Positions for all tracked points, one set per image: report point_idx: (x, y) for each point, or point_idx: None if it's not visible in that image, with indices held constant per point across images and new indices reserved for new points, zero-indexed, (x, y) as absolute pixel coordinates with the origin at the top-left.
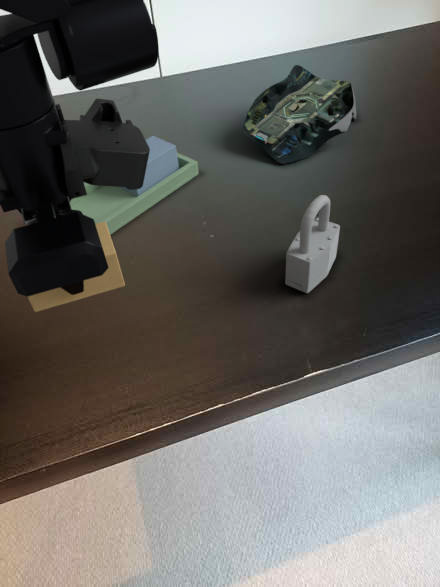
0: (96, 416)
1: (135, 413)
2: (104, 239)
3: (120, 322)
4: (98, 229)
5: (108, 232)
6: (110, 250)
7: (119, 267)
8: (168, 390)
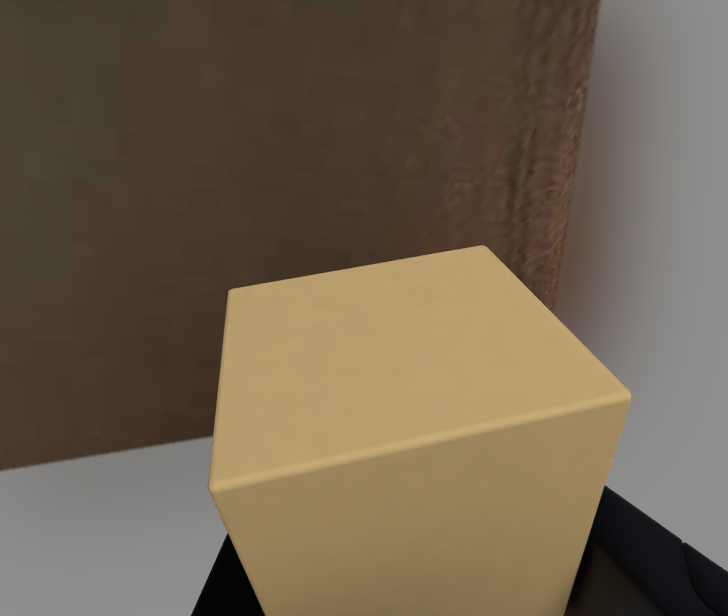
0: (499, 253)
1: (529, 171)
2: (449, 470)
3: (234, 189)
4: (311, 515)
5: (377, 456)
6: (585, 426)
7: (554, 315)
8: (506, 77)
